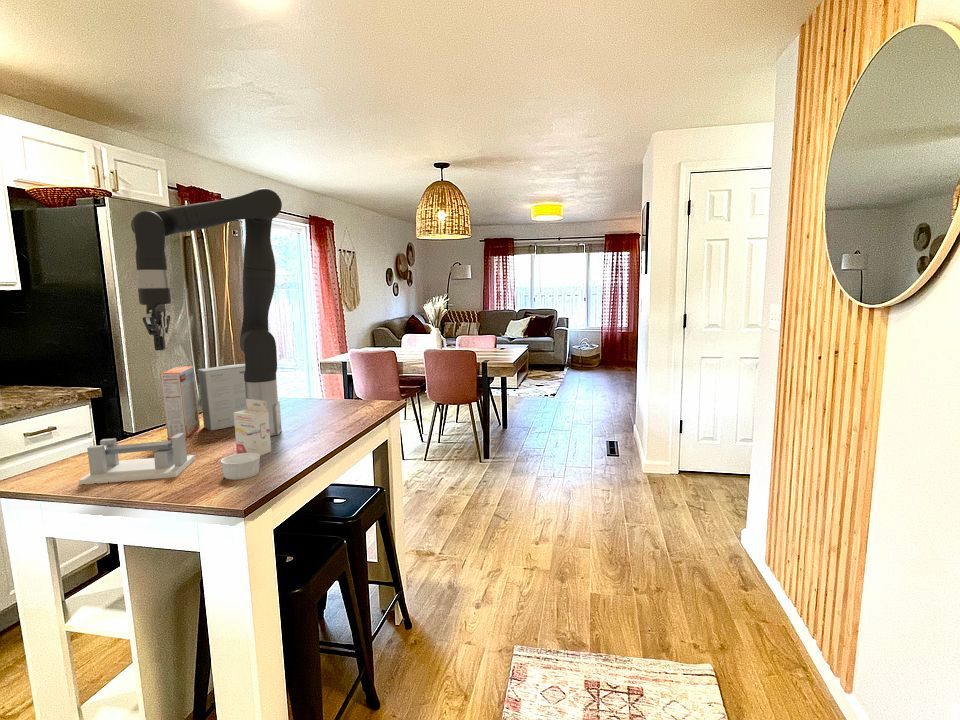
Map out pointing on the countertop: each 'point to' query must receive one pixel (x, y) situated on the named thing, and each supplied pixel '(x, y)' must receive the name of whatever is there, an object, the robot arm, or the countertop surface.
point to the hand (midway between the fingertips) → (160, 349)
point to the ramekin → (240, 465)
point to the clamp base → (136, 463)
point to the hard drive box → (222, 395)
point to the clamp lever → (137, 447)
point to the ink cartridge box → (253, 428)
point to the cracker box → (180, 401)
